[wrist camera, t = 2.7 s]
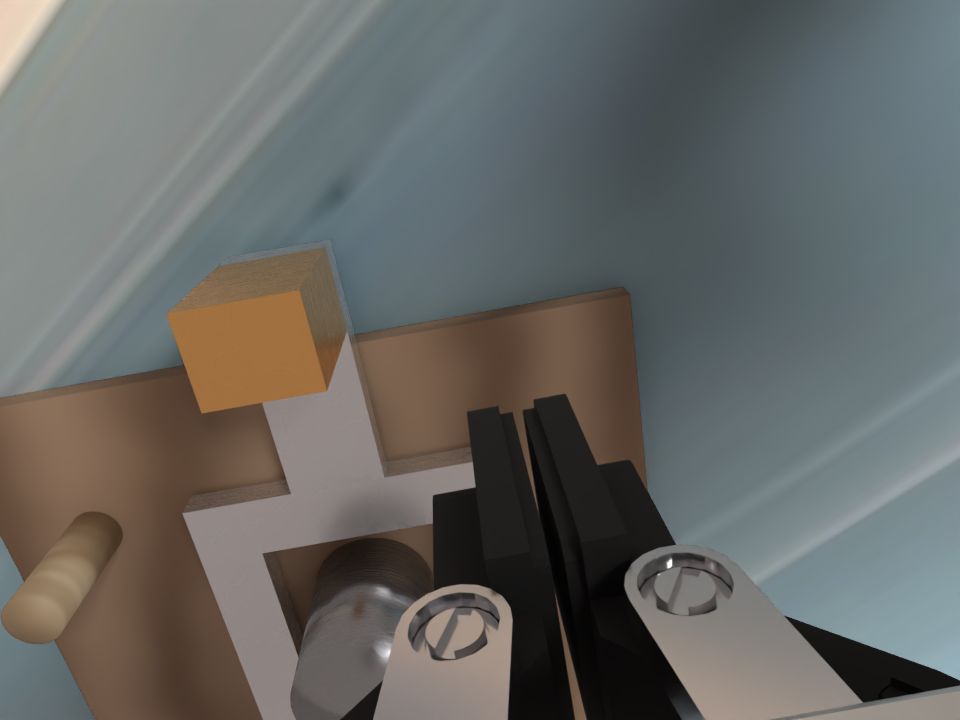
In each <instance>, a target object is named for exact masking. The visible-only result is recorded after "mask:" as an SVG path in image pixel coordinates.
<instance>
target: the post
mask: <svg viewBox="0 0 960 720" xmlns="http://www.w3.org/2000/svg"><path fill="white" fill-rule="evenodd" d="M433 591H434V580H433V575H432V572H431V569H430V567H429V565H428V564H427V562H426V561H425V559H424V558H423V557H422V556H421V555H420V554H419V553H418V552H416V551H415V550H414V549H412V548H411V547H409V546H407V545H405V544H403V543H401V542H398V541H395V540H391V539H386V538H364V539H359V540H355V541H352V542H349V543H347V544H345V545H343V546H341V547H339V548H338V549H336V550H335V551H333V552H332V553H331V554H330V555H329V556H328V557H327V558H326V559H325V561H324V562H323V564H322V565H321V567H320V570H319V572H318V576H317V580H316V584H315V589H314V593H313V597H312V602H311V606H310V610H309V615H308V619H307V623H306V628H305V632H304V636H303V641H302V645H301V649H300V654H299V658H298V662H297V667H296V671H295V675H294V680H293V684H292V688H291V694H290V703H291V709H292V712H293V715H294V717H295V719H296V720H340V719H341V718H343V717H344V716H345V715H346V714H347V713H348V712H349V711H350V710H351V709H352V708H353V707H354V706H356V705H357V704H358V703H359V702H360V701H361V700H362V699H363V698H364V697H365V696H366V695H367V694H369V693H370V692H371V691H372V690H373V689H374V688H375V687H376V686H377V685H378V684H379V683H380V682H382V681H383V679H384V675H385V671H386V667H387V663H388V659H389V655H390V651H391V647H392V643H393V639H394V635H395V631H396V628H397V626H398V624H399V621H400V619H401V617H402V615H403V614H404V613H405V612H406V611H407V610H408V608H409V607H410V606H411V605H412V604H413V603H414V602H416V601H417V600H419V599H420V598H422V597H423V596H425V595H426V594H428V593H431V592H433Z"/></svg>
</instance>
